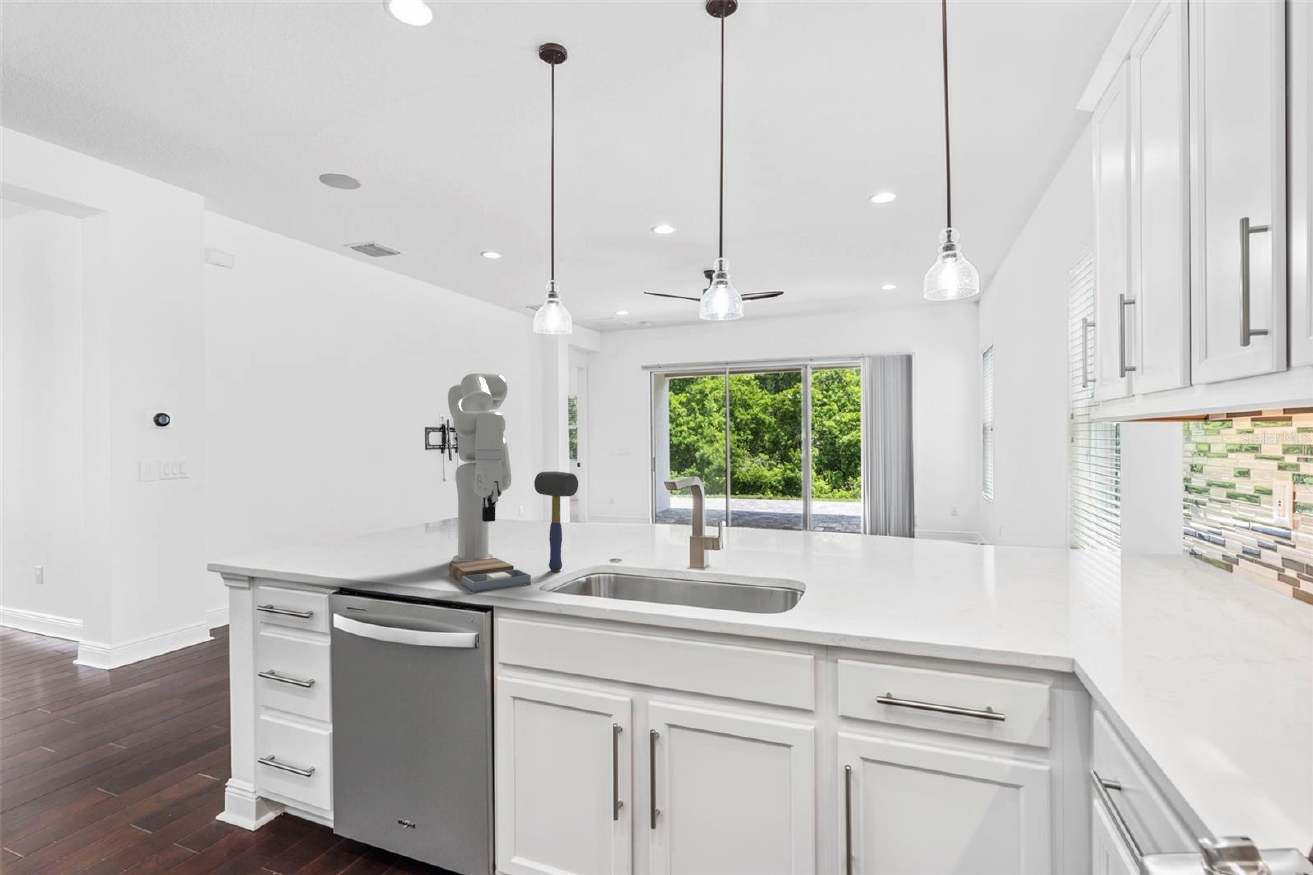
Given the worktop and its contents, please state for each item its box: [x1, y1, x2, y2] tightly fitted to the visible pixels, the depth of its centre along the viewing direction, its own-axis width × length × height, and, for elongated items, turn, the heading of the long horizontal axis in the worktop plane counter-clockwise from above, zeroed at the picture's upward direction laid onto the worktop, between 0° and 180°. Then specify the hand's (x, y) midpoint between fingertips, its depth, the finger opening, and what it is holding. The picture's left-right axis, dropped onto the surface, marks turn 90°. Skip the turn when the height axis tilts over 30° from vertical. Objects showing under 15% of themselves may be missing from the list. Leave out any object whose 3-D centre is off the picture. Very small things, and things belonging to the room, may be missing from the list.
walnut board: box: [448, 557, 515, 584], centre depth 178 cm, size 14×14×4 cm
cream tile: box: [487, 572, 511, 581], centre depth 167 cm, size 5×5×2 cm
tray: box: [461, 568, 532, 593], centre depth 168 cm, size 9×16×2 cm, turn 126°
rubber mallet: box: [533, 471, 579, 573], centre depth 186 cm, size 12×8×30 cm, turn 60°
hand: (488, 521), depth 173 cm, fingers closed
